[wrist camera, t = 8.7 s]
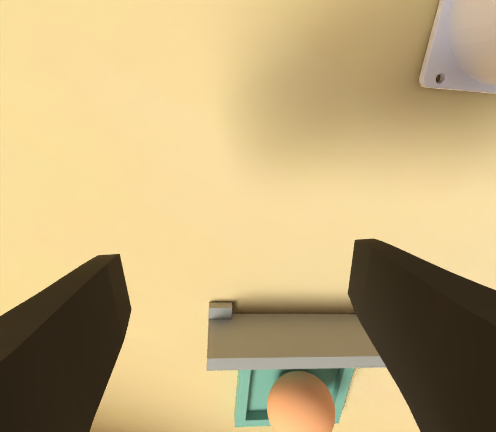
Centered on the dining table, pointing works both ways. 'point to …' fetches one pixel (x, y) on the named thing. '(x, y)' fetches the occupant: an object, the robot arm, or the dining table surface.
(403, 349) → the robot arm
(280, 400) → the ball
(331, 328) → the wall
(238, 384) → the coaster
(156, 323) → the dining table surface
